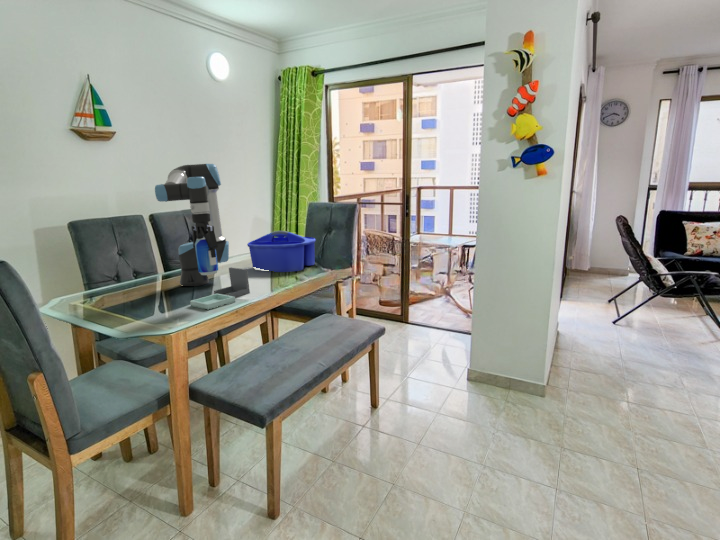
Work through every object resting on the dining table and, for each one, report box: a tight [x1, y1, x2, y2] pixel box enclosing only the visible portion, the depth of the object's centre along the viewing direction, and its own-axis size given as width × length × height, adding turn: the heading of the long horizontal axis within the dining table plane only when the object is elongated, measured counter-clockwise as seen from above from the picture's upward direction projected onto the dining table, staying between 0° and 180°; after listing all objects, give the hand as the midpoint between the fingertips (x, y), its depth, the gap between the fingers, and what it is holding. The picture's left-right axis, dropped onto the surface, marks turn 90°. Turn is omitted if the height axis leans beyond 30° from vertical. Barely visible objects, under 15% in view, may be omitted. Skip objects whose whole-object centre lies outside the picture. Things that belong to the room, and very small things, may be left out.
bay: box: [213, 267, 251, 298], centre depth 211 cm, size 13×11×12 cm
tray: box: [189, 293, 236, 311], centre depth 196 cm, size 14×14×2 cm
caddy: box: [246, 230, 317, 273], centre depth 272 cm, size 32×45×23 cm
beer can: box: [195, 236, 219, 276], centre depth 191 cm, size 8×8×16 cm
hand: (207, 264), depth 192 cm, fingers closed on beer can, 8 cm apart
